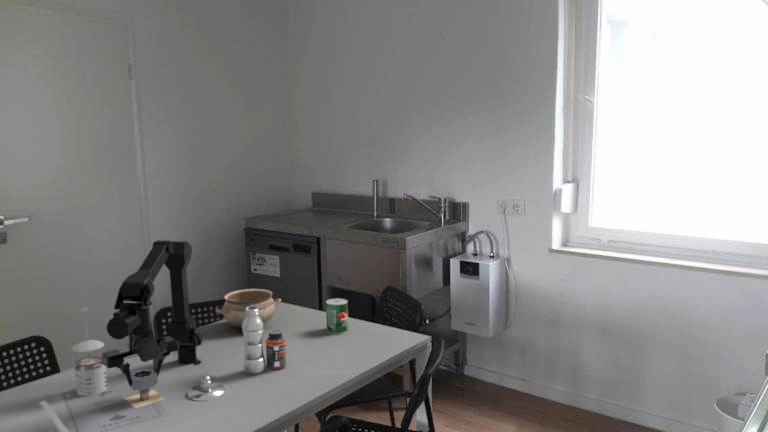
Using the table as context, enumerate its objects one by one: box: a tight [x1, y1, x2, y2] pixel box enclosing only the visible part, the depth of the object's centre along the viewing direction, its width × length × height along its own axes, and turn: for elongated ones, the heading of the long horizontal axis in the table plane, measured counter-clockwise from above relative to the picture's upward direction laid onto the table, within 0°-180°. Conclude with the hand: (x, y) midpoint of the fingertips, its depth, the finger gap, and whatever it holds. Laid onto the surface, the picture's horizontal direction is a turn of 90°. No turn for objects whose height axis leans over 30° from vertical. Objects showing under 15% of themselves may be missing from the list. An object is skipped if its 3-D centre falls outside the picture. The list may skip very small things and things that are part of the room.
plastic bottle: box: [241, 307, 266, 375], centre depth 178 cm, size 6×7×20 cm
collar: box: [128, 368, 159, 391], centre depth 160 cm, size 7×7×3 cm
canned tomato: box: [325, 297, 349, 335], centre depth 215 cm, size 8×8×11 cm
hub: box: [187, 374, 226, 402], centre depth 164 cm, size 10×10×6 cm
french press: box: [71, 306, 108, 397], centre depth 166 cm, size 10×12×25 cm
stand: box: [124, 388, 166, 409], centre depth 160 cm, size 8×8×6 cm
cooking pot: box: [215, 288, 282, 329], centre depth 220 cm, size 25×19×12 cm
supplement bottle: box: [265, 329, 287, 371], centre depth 183 cm, size 6×6×11 cm
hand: (143, 381), depth 160 cm, fingers closed on collar, 7 cm apart
